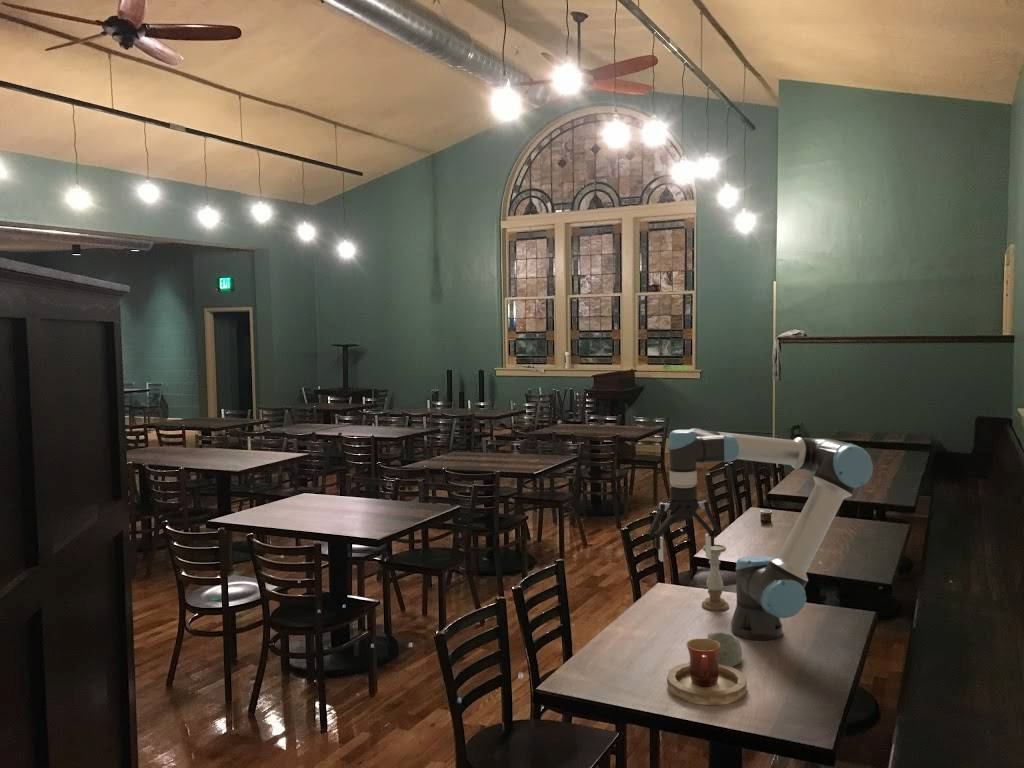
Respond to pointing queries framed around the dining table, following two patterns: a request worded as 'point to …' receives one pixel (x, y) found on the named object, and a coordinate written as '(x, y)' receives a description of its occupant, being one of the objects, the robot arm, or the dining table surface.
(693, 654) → the mug
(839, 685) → the dining table surface
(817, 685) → the dining table surface
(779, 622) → the robot arm
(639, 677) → the dining table surface
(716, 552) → the candle holder
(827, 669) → the dining table surface
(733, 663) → the decorative stone
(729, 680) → the round tray
